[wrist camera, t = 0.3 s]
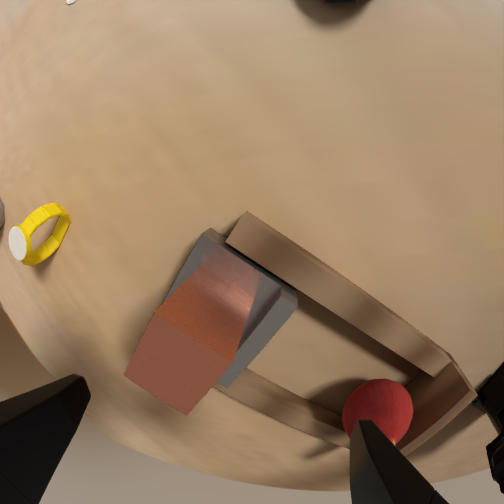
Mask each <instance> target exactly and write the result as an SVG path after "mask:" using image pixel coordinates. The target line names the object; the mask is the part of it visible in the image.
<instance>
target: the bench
mask: <svg viewBox="0 0 504 504" xmlns="http://www.w3.org/2000/svg"><path fill="white" fill-rule="evenodd" d="M226 242H227V243H228V244H230V245H231V246H233V247H234V248H236V249H237V250H239V251H240V252H242V253H243V254H245V255H246V256H248V257H249V258H251V259H252V260H254V261H255V262H257V263H258V264H260V265H261V266H263V267H265V268H266V269H268V270H269V271H271V272H272V273H274V274H275V275H277V276H278V277H280V278H281V279H283V280H284V281H286V282H287V283H289V284H290V285H292V286H294V287H295V288H297V289H298V290H300V291H301V292H303V293H304V294H306V295H307V296H309V297H310V298H312V299H313V300H315V301H317V302H318V303H320V304H321V305H323V306H324V307H326V308H327V309H329V310H330V311H332V312H333V313H335V314H336V315H338V316H340V317H341V318H343V319H344V320H346V321H347V322H349V323H350V324H352V325H353V326H355V327H357V328H358V329H360V330H361V331H363V332H364V333H366V334H367V335H369V336H370V337H372V338H374V339H375V340H377V341H378V342H380V343H381V344H383V345H384V346H386V347H387V348H389V349H391V350H392V351H394V352H395V353H397V354H398V355H400V356H401V357H403V358H405V359H406V360H408V361H409V362H411V363H412V364H414V365H415V366H417V367H419V368H420V369H422V370H423V371H422V372H421V373H420V374H419V375H418V376H417V377H416V378H415V379H414V380H412V381H411V382H410V383H409V384H408V385H407V386H406V387H405V389H406V390H407V391H408V393H409V394H410V396H411V400H412V405H413V417H412V420H411V423H410V426H409V429H408V430H407V432H406V434H405V435H404V436H403V437H402V439H401V440H400V441H399V442H398V443H396V444H395V446H396V447H397V448H398V450H399V451H400V452H401V453H402V454H403V455H404V456H407V455H408V454H410V453H411V452H412V451H414V450H415V449H417V448H418V447H419V446H421V445H422V444H423V443H425V442H426V441H427V440H428V439H430V438H431V437H432V436H434V435H435V434H436V433H437V432H438V431H440V430H441V429H442V428H443V427H444V426H446V425H447V424H448V423H449V422H450V421H451V420H452V419H454V418H455V417H456V416H457V415H458V414H459V413H460V412H461V411H462V410H463V409H464V408H466V407H467V406H468V405H469V404H470V403H471V402H472V401H473V400H474V399H475V398H476V397H477V396H478V395H477V393H476V392H475V390H474V389H473V387H472V385H471V384H470V382H469V381H468V379H467V378H466V376H465V375H464V373H463V372H462V370H461V369H460V368H459V366H458V365H457V363H456V362H455V360H454V359H453V357H452V356H451V355H450V354H449V353H448V352H446V351H445V350H444V349H442V348H441V347H440V346H438V345H437V344H436V343H434V342H433V341H432V340H430V339H429V338H428V337H427V336H425V335H424V334H423V333H421V332H420V331H419V330H417V329H416V328H414V327H413V326H412V325H410V324H409V323H408V322H406V321H405V320H404V319H402V318H401V317H400V316H398V315H397V314H396V313H394V312H393V311H391V310H390V309H389V308H387V307H386V306H385V305H383V304H382V303H380V302H379V301H378V300H376V299H375V298H373V297H372V296H371V295H369V294H368V293H366V292H365V291H364V290H362V289H361V288H359V287H358V286H357V285H355V284H354V283H352V282H351V281H350V280H348V279H347V278H345V277H344V276H342V275H341V274H340V273H338V272H337V271H335V270H334V269H332V268H331V267H329V266H328V265H327V264H325V263H324V262H322V261H321V260H319V259H318V258H316V257H315V256H314V255H312V254H311V253H309V252H308V251H306V250H305V249H303V248H302V247H300V246H299V245H297V244H296V243H294V242H293V241H291V240H290V239H288V238H287V237H286V236H284V235H283V234H281V233H280V232H278V231H277V230H275V229H274V228H272V227H271V226H269V225H268V224H266V223H264V222H263V221H261V220H260V219H258V218H257V217H255V216H254V215H252V214H251V213H249V212H248V211H247V212H246V213H244V214H243V215H242V216H241V218H240V219H239V221H238V223H237V224H236V226H235V227H234V229H233V230H232V232H231V234H230V235H229V237H228V238H227V240H226ZM213 387H215V388H217V389H218V390H220V391H222V392H224V393H225V394H227V395H229V396H231V397H233V398H235V399H236V400H238V401H240V402H242V403H244V404H246V405H248V406H250V407H252V408H254V409H256V410H258V411H260V412H262V413H264V414H266V415H268V416H270V417H272V418H274V419H277V420H279V421H281V422H283V423H285V424H287V425H290V426H292V427H294V428H297V429H299V430H301V431H304V432H306V433H308V434H311V435H313V436H316V437H318V438H321V439H323V440H326V441H329V442H331V443H334V444H337V445H339V446H342V447H345V448H348V449H350V438H349V437H348V435H347V433H346V431H345V429H344V427H343V424H342V416H340V415H338V414H336V413H333V412H331V411H329V410H327V409H325V408H322V407H320V406H318V405H316V404H314V403H312V402H310V401H308V400H306V399H304V398H302V397H300V396H298V395H296V394H294V393H292V392H290V391H288V390H286V389H284V388H282V387H280V386H278V385H276V384H275V383H273V382H271V381H269V380H267V379H265V378H263V377H262V376H260V375H258V374H256V373H254V372H253V371H251V370H249V369H247V368H245V370H244V371H243V372H242V373H241V374H240V375H239V376H238V377H237V378H236V380H235V381H234V382H233V383H232V384H231V385H230V386H229V387H228V388H225V387H224V386H222V385H220V384H218V383H217V382H216V383H215V384H214V385H213Z"/></svg>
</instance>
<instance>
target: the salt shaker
mask: <svg viewBox="0 0 504 504" xmlns="http://www.w3.org/2000/svg"><path fill="white" fill-rule="evenodd" d="M4 221H5V216H4V204H3V203H2V201H1V199H0V229H1V227H2V225H3V223H4Z"/></svg>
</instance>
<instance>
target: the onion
mask: <svg viewBox="0 0 504 504" xmlns="http://www.w3.org/2000/svg"><path fill="white" fill-rule="evenodd" d="M412 417H413V405H412V400H411V396H410V394H409V393H408V391H407V390H406V389H405V388H404V387H403V386H402V385H401V384H400V383H397V382H394V381H391V380H388V379H373V380H369V381H366V382H364V383H363V384H361V385H360V386H358V387H357V388H356V389H354V391H353V392H352V393H351V394H350V395H349V397H348V398H347V400H346V402H345V404H344V408H343V411H342V424H343V427H344V429H345V431H346V433H347V435H348V437H349V438H350V436H351V434H352V431H353V429H354V427H355V424H356V422H357V421H358V420H359V419H371V420H372V421H373V422H374V423H375V424H376V425H377V426H378V427H379V428H380V429H381V431H382V432H383V433H384V434H385V435H386V436H387V437H388V438H389V440H390V441H391V442H392V443H393V444H394V445H395V444H396V443H398V442H399V441H400V440H401V439H402V437H403V436H404V435H405V434H406V432H407V430H408V429H409V426H410V423H411V420H412Z"/></svg>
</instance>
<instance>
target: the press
mask: <svg viewBox="0 0 504 504" xmlns="http://www.w3.org/2000/svg"><path fill="white" fill-rule="evenodd" d="M226 240H227V238H226V237H224V236H223V235H221V234H220V233H218V232H217V231H215V230H214V229H212V228H210V229H208V230H207V231H205V232H204V233H202V234H201V236H200V238H199V239H198V241H197V243H196V245H195V246H194V248H193V250H192V252H191V253H190V255H189V257H188V259H187V260H186V262H185V264H184V266H183V268H182V269H181V271H180V273H179V275H178V276H177V278H176V280H175V282H174V284H173V286H172V287H171V289H170V291H169V293H168V295H167V297H166V298H165V300H164V302H163V304H162V305H161V306H160V307H159V308H158V309H157V310H156V311H155V312H154V314H153V316H152V318H151V320H150V322H149V324H148V326H147V328H146V330H145V332H144V334H143V336H142V338H141V340H140V342H139V344H138V346H137V348H136V350H135V352H134V354H133V356H132V358H131V360H130V362H129V365H128V367H127V369H126V371H125V373H124V376H126V377H127V378H129V379H130V380H131V381H133V382H134V383H136V384H137V385H139V386H140V387H142V388H143V389H145V390H146V391H148V392H149V393H151V394H152V395H154V396H155V397H157V398H158V399H160V400H162V401H163V402H165V403H166V404H168V405H170V406H171V407H173V408H175V409H176V410H178V411H180V412H181V413H183V414H185V415H188V413H189V412H190V411H191V410H192V409H193V408H194V407H195V406H196V405H197V403H198V402H199V401H200V400H201V399H202V398H203V397H204V396H205V394H206V393H207V392H208V391H209V390H210V389H211V388H212V386H213V385H214V384H215V383H216V382H217V383H218V384H220V385H222V386H224V387H225V388H228V387H229V386H230V385H231V384H232V383H233V382H234V381H235V380H236V378H237V377H238V376H239V375H240V374H241V373H242V372H243V371H244V370H245V368H246V367H247V366H248V365H249V364H250V363H251V362H252V360H253V359H254V358H255V357H256V356H257V355H258V354H259V352H260V351H261V350H262V349H263V348H264V347H265V346H266V344H267V343H268V342H269V341H270V340H271V338H272V337H273V336H274V335H275V334H276V333H277V331H278V330H279V329H280V328H281V327H282V325H283V324H284V323H285V322H286V320H287V319H288V318H289V317H290V316H291V314H292V313H293V312H294V311H295V309H296V308H297V307H298V289H297V288H295V287H294V286H292V285H290V284H289V283H287V282H286V281H284V280H283V279H281V278H280V277H278V276H277V275H275V274H274V273H272V272H271V271H269V270H268V269H266V268H265V267H263V266H261V265H260V264H258V263H257V262H255V261H254V260H252V259H251V258H249V257H248V256H246V255H245V254H243V253H242V252H240V251H239V250H237V249H236V248H234V247H233V246H231V245H230V244H228V243H227V242H226Z"/></svg>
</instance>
